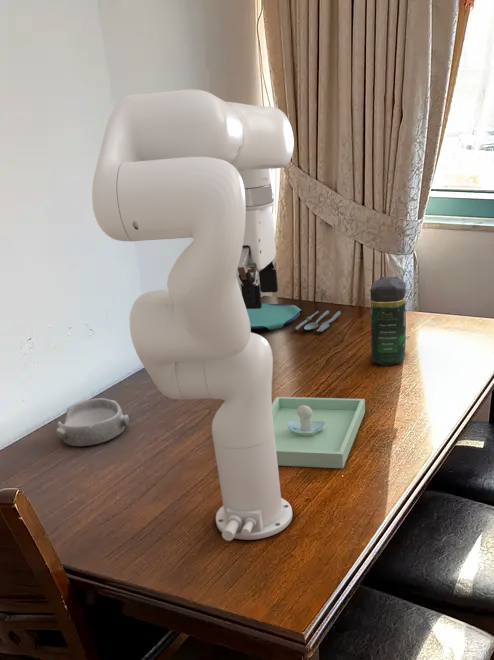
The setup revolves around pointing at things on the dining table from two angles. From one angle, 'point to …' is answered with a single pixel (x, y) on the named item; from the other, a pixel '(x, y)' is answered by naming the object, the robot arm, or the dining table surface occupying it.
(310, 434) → the pacifier
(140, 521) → the dining table surface
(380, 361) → the coffee jar
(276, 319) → the cutlery set
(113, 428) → the dish
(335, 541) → the dining table surface
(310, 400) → the tray
